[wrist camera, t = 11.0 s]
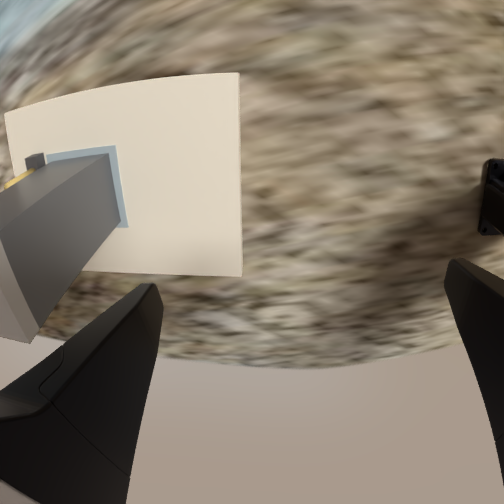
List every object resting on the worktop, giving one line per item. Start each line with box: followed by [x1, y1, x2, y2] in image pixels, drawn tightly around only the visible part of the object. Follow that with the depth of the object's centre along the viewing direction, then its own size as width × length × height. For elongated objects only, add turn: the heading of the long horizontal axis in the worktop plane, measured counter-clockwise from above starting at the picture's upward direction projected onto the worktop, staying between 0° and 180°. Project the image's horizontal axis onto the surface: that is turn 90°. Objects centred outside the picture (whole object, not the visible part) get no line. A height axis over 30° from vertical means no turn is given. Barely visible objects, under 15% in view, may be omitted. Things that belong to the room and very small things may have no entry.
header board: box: [4, 73, 243, 277], centre depth 19 cm, size 18×14×5 cm
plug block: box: [0, 153, 121, 344], centre depth 15 cm, size 5×5×12 cm
